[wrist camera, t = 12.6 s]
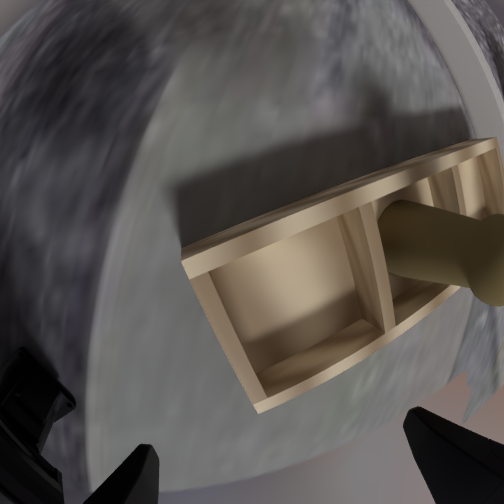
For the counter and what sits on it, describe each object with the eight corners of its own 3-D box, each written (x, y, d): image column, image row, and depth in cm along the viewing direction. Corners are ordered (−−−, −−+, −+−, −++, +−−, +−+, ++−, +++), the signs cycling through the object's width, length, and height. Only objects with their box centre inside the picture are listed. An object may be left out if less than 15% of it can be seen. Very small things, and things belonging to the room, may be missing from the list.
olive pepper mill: (406, 287, 21) (513, 332, 10) (361, 254, 19) (491, 299, 9) (434, 224, 21) (542, 243, 10) (393, 183, 19) (522, 185, 8)
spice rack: (244, 380, 20) (258, 413, 16) (181, 248, 17) (180, 260, 13) (485, 232, 25) (510, 236, 21) (469, 139, 22) (496, 136, 18)
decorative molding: (382, -45, 18) (346, -63, 15) (403, -57, 14) (370, -79, 10) (490, 149, 27) (481, 169, 24) (516, 146, 23) (514, 166, 19)
